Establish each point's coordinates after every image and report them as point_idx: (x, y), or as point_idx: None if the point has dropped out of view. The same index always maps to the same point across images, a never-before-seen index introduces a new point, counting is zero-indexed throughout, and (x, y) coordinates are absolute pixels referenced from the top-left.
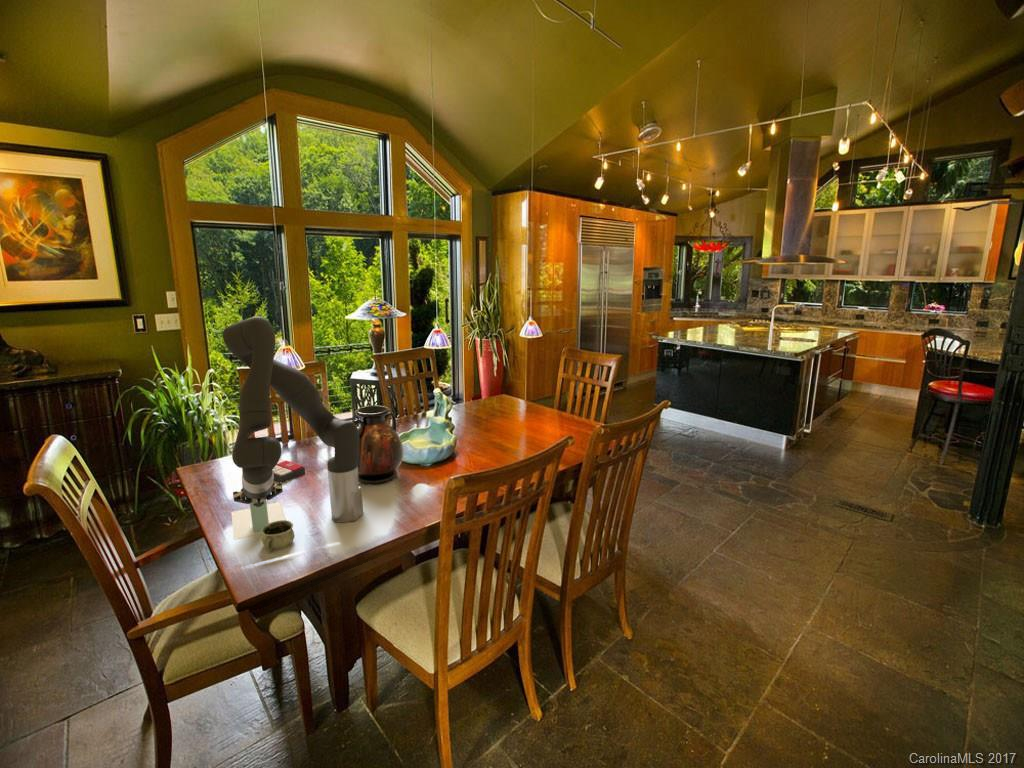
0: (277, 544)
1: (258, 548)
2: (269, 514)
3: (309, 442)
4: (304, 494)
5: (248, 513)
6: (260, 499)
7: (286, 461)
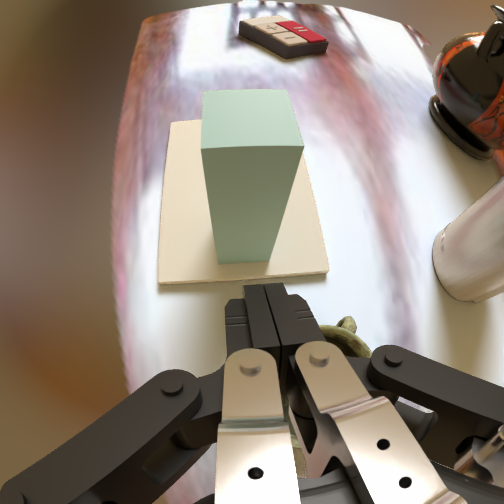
0: None
1: None
2: None
3: (314, 8)
4: (342, 109)
5: None
6: (307, 468)
7: (293, 22)
